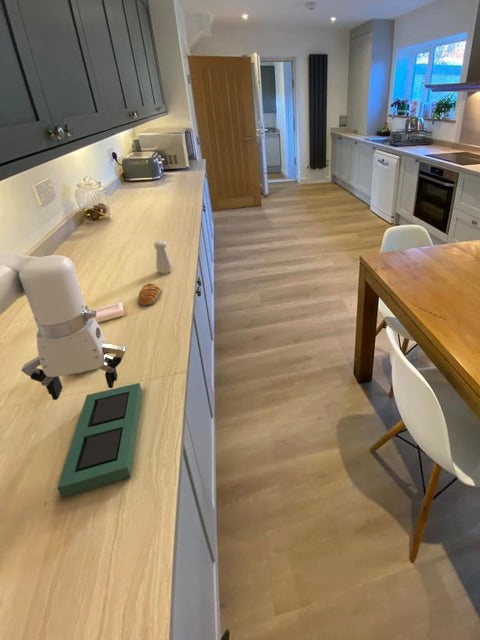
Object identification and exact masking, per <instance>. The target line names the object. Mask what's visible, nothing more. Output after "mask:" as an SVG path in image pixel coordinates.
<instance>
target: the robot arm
mask: <svg viewBox="0 0 480 640" xmlns="http://www.w3.org/2000/svg"><path fill="white" fill-rule="evenodd" d="M24 296H25V297H26V299H27V301H28V304H29V308H30V311H31V312H32V315H33V318H34V321H35V324H36V326H37V329H38V330H37V332H36V347H37V354H38V356H36V357H34V358H33V359H31V360H29V361H28V362H26V363H25V364H23V366H22V367H21V369H20V370H21V372H22V373H23V374H25V375H27V376H29V377H30V379H31V380H33V381H36V382H39V383H40V384H41V386H43V387H46V390H47V393H48V394H49V395H51V398H52V401H57V400H58V399H59V397H60V396H61V392H62V391H63V384H62V381H61V379H60V377H62V376H68V375H69V376H70V375H74V374H77V373H79V372H82V373H83V372H89V371H93V370H97V369H100V370H102V371H104V372H105V373H104V377H105V381H106V385H107V388H108V389H114V385H115V382H117V381H118V372H117V369H116V368H117V367H118V366H119V365H120V364H121V363H122V360H123V358H124V357H125V353H126V350H127V349H126V348H127V347H126V346H124V345H118V344H112V343H107V340H106V337H105V335H104V332H103V331H102V329H101V327H100V324H99V322H98V323H97V321H96V320H95V317H96V311H91V310H92V309H89V307H88V305H86V303H85V300H84V295H83V292H82V288H81V285H80V282H79V278H78V275H77V271H76V267H75V265H74V262H73V260H71V258H69V257H68V256H64V255H61V254H51V255H50V254H49V255H45V256H33V255H26V254H18V253H3V254H0V316H1V315H3V314H4V313H5V312H6V311H7V310H8V309H9V308H10V307H11V306H12V305H13V304H14V303H16V301H18V300H19V299H21V298H22V297H24ZM108 354H112V355H114V356H110V355H108ZM39 366H41V368H38V367H39Z"/></svg>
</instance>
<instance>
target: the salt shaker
mask: <svg viewBox="0 0 480 640" xmlns="http://www.w3.org/2000/svg"><path fill="white" fill-rule="evenodd" d="M153 247H154V249H155V250H156V251H155V252H156V257H155V259H156V260H155V263H156V265H155V267H156V270H157V271H158V272H159V274H161V275H166V274H168V273H171V270H172V267H173V265H172V264H173V263H172V261H171V259H170V257H169V254H168V251H167V249H166V247H167V242H166V241H164V240H157V241H155V242H154V243H153Z"/></svg>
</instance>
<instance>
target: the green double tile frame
mask: <svg viewBox="0 0 480 640" xmlns="http://www.w3.org/2000/svg"><path fill="white" fill-rule="evenodd" d="M142 389H143V388H142V386H141V383H140V382H137V383H132V384H128V385H123V386H119V387H115V388H110V389H106V390H103V391H98V392H93V393H89V394H86V396H85V400H84V402H83V406H82V409H81V412H80V416H79V418H78V421H77V425H76V428H75V430H74V434H73V437H72V440H71V443H70V447H69V450H68V452H67V456H66V459H65V462H64V466H63V468H62V472H61V473H60V478H59V481H58V484H57V487H56V489H57V490H58V493H59V495H60V496H61V498H62V499H63V498H64V499H65V498H67V497H71V496H73V495H76V494H81V493H83V492H87V491H90V490H94V489H96V488H100V487H103V486H107V485H110V484H113V483H116V482H119V481H123V480H125V479H126V480H127V479H129V478H131V477H132V468H133V463H134V455H135V448H136V447H135V446H136V439H137V433H138V427H139V426H138V425H139V417H140V411H141V404H142V397H143V395H142V394H143V390H142ZM124 394H128V396H129V397H128V402H127V408H126V413H125V419H120V420H116V421H112V422H108V423H104V424H100V425H96V426H92V421H93V418H94V414H95V411H96V407H97V403H98V400H102V399H107V398H111V397H115V396H119V395H124ZM120 429H121V432H122V436H121V441H120V447H119V452H118V458H117V460H116V461H113V462H109V463H106V464H103V465H99V466H96V467H92V468H89V469H85V470H82V471H80V470H79V467H80V463H81V459H82V456H83V452H84V449H85V445H86V441H87V438H90V437H94V436H98V435H102V434H105V433H109V432H113V431H117V430H120Z"/></svg>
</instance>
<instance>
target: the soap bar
mask: <svg viewBox="0 0 480 640" xmlns="http://www.w3.org/2000/svg"><path fill="white" fill-rule="evenodd" d="M124 309H125V308H124V304H123V302H117V303H113V304H109V305H106V306H102V307H98V308H97V307H96V308H93V309H90V310H91V311H96V317H95V320H96V321H97V323H98V324H99V323H102V322H105V321H108V320H112V319H116V318H120V317H123V316H124V315H125V310H124Z"/></svg>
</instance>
